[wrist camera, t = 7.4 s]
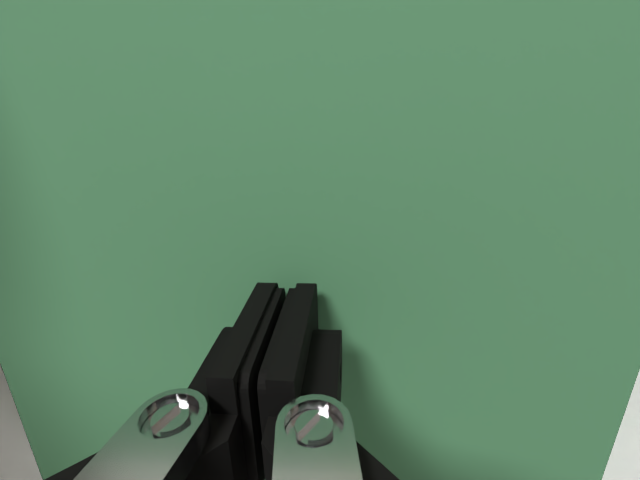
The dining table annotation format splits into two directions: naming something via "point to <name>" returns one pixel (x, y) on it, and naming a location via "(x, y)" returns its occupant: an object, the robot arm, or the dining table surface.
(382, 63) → the board
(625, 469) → the dining table surface
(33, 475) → the dining table surface
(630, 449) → the dining table surface
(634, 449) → the dining table surface
